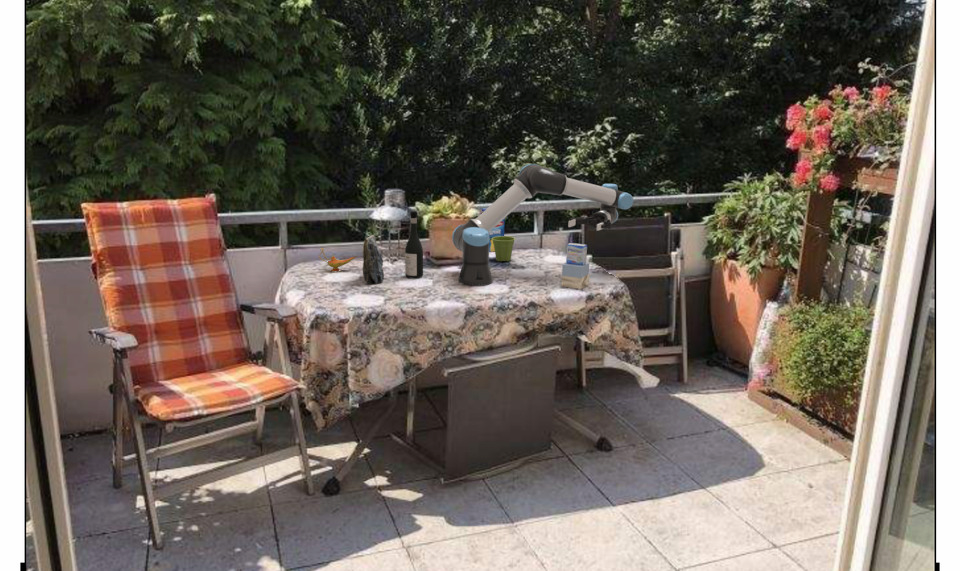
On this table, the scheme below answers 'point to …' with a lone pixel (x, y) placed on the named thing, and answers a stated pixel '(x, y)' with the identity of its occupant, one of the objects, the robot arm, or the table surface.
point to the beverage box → (495, 233)
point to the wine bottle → (414, 251)
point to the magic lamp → (336, 261)
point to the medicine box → (576, 254)
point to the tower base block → (575, 281)
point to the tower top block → (575, 270)
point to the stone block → (372, 261)
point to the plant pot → (503, 247)
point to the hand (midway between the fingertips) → (583, 225)
